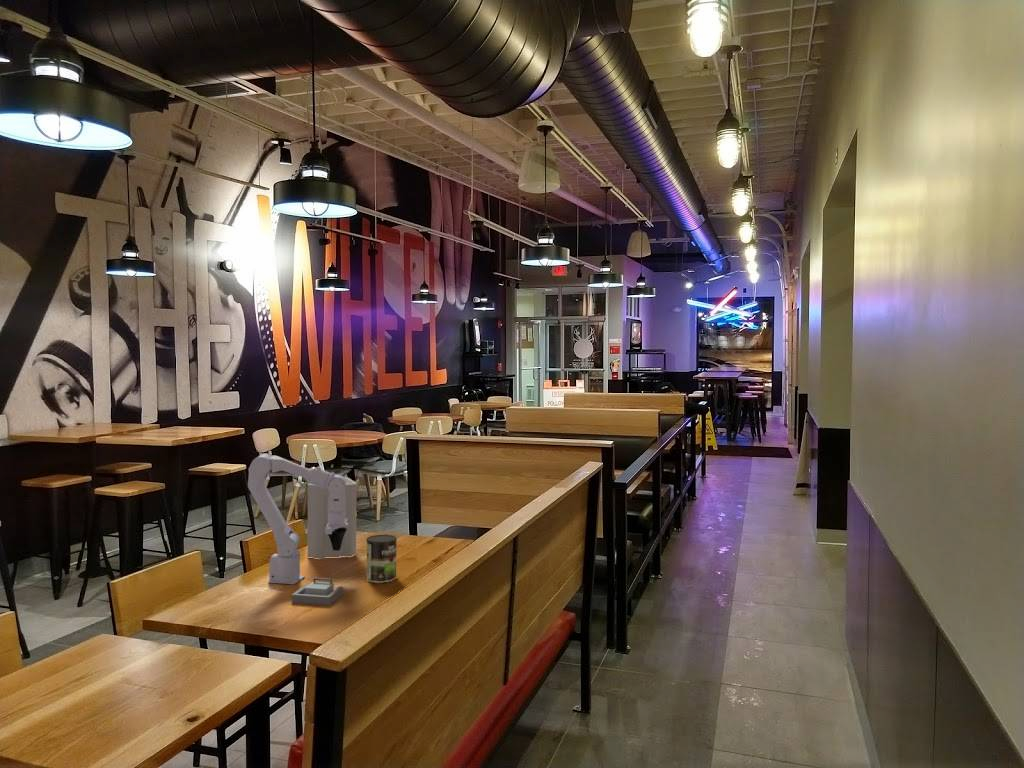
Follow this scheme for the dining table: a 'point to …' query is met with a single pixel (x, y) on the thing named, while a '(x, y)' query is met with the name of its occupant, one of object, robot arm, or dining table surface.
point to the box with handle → (320, 587)
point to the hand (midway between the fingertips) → (336, 550)
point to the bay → (316, 597)
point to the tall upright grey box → (319, 519)
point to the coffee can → (381, 558)
